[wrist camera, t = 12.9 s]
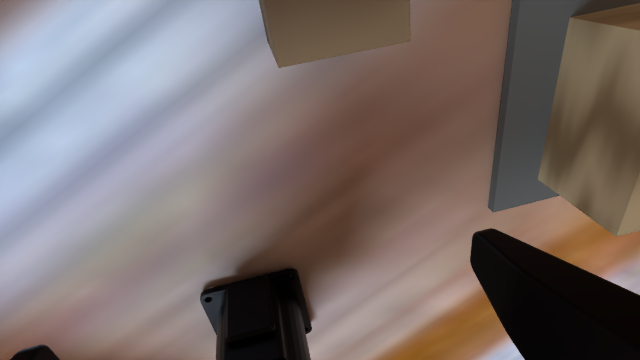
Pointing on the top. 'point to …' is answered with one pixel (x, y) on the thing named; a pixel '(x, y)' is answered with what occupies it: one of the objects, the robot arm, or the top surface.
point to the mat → (531, 95)
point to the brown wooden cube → (332, 27)
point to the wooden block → (598, 120)
